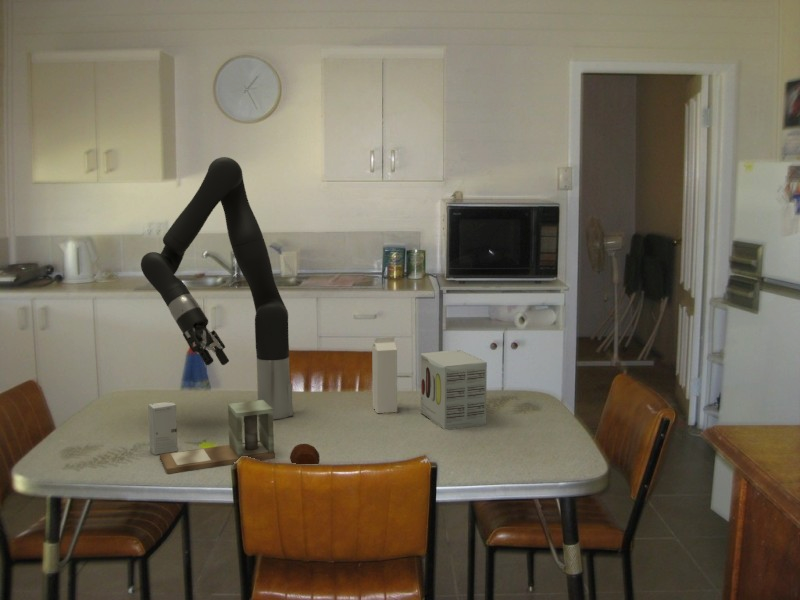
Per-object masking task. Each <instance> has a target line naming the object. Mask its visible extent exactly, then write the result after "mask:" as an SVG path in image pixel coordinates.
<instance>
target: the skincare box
mask: <svg viewBox="0 0 800 600" xmlns="http://www.w3.org/2000/svg"><path fill="white" fill-rule="evenodd" d="M177 419H178V418H177V404H175V403H174V402H172V401H164V402H157V403H149V404H148V433H149V435H148V436H149V451H150V452H151V453H152V454H153V455H154V456H157V455H160V454H167V453H174V452H178V425H177V423H178V422H177Z"/></svg>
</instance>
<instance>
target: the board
mask: <svg viewBox="0 0 800 600" xmlns="http://www.w3.org/2000/svg"><path fill="white" fill-rule="evenodd" d="M258 415H259V416H258ZM227 416H228V417H227V418H228V421H227V422H228V444H224V445H219V446H218V445H217V446H210V447H204V448H198V449H197V448H196V449H191V450H189V449H188V450H183V451H182V450H181V451H174V452H168V453H162V454H159V461H160V460H161V461H160V462H162V463H161V464H163V465H162V467H163V466H164V467H163V468H164V470H165V472H166V474H167V475H169V474H175V473H182V472H188V471H189V470H190V471H195V470H194V469H196V470H202V469H201V468H203V469H209V468H215V467H223V466H228V465H229V464H230V465H233V464H232V463H234V462H236V461H237V460H238V459H239V458H240V457H241V456H248V457H251V458H255V459H260V460H259V461H264V460H268V459H275V458H276V453H275V440H274V439H275V438H274V435H275V434H274V432H275V431H274V419H273V408H271V407H270V406H269V405H268V404H267V403H266V402H265V401H264V400H258V399H257V400H250V401H240V402H234V403H233V402H232V403H227ZM242 420H243V422H242ZM243 427H244V428H243ZM243 429H244V431H243ZM258 431H259V432H258ZM243 432H244V442H243ZM258 434H259V435H258ZM222 465H223V466H222Z"/></svg>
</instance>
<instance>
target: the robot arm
mask: <svg viewBox="0 0 800 600" xmlns="http://www.w3.org/2000/svg"><path fill="white" fill-rule="evenodd" d="M243 176H244V175H243V170H242V167H241V165H240V164H239V162H237V161H236V160H235V159H234V158H231V157H227V156H220V157H218V158H216V159H214V160H213V161H211V163H210V164H209V166H208V169H207V172H206V174H205V176H204V178H203V180H202V182H201V185H200V186H199V188H198V190H197V191H196V193H194V195H193V197H192V199H191V200H189V203H188V204H187V205H186V206H185V208H184V209H183V210H182V211H181V212H180V214H179V215H178V217H177V218H176V219H175V221H174V222H173V223H172V225H171V226H170V227H169V228H168V230H167V231H166V232H165V234H164V236H163V238H162V242H163V244H164V246H163V248H162V251H161V252H155V251H153V252H152V251H151V252H148V253H146V254H144V255H143V257H142V258H141V260H140V261H141V262H140V269H141V272H142V273H143V275H144V277H145V278H146V280H147V281H148V282H149V283H150V285H151V286H152V287H153V288H154V289H155V290H156V291H157V292H158V293H159V294H160V296H161V299H162V300H163V301H164V303H165V305H166V306H167V308H168V310H169V312H170V314H171V316H172V318H173V320H174V322H175V323H176V324H177V326H178V327H179V329H180V331H181V332H182V336H183V338H184V340H185V341H186V343H187V344H188V346H189V348H190V350H191V351H192V353H196V354H197V355H199V357H201V359H202V361H203V363H204V364H205V365H206V366H210V365H211V364H213V362H214V358H213V356H212V355H211V354H210V352H209V351H212V352H213V353H214V354H215V357H216V358H217V360H218V361H219V363H220V364H221V366H225V365H226V364H228V363H229V362H230V360H229V358H228V356H227V355H226V353H225V352H224V349H225V348H226V345H225V344H224V341H222V339H221V337H220V336H219V335H218V333H217V332H216V330H212V331H210V330H209V329H208V328H207V326H208V325H209V319H208V318H207V316H206V315H205V313H204V311H203V309H202V308H201V306H200V305H199V303H198V302H197V300H196V299H195V297H194V296H193V295H192V294H191V292H190V291H189V288H187V286H186V283H184V282H183V280H181V278H179V277H177V276H176V275H175V274H176V273H177V271H178V269H179V268H180V265H181V262H182V260H183V258H184V255H185V252H186V251H187V250H188V248H189V247H190V245H191V244H192V243H193V241H195V239H196V237H197V236H198V235H199V233H200V232H201V230H202V228H203V227H204V226H205V224H206V222H207V220H208V218H209V216H210V215H211V214H212V212H213V211H214V209H216V207H217V205H218V204H219V203H221V205H222V206H221V207H222V208H223V209H222V210H223V212H224V216H225V217H224V218H225V223H226V229H227V234H228V235H227V236H228V240H229V243H230V246H231V250H232V253H233V255H234V258H235V261H236V263H237V266H238V268H239V270H240V273H242V276H243V278H244V279H245V281H246V283H247V285H248V287H249V289H250V293H251V297H252V301H253V305H254V310H255V317H254V333H255V334H254V335H255V336H254V337H255V338H254V339H255V351H256V353H255V354H256V378H257V379H256V380H257V383H256V384H257V385H256V387H257V400H264V401H265V402H266V403H267V404H268V405H269V406H270V407H271V408H273V420H282V419H285V418H288V417H291V416H293V384H292V383H291V382H290V343H289V342H290V341H289V312H288V310H287V307H286V305H285V302H284V301H283V299H282V296H281V294H280V291H279V289H278V287H277V284H276V281H275V278H274V274H273V267H272V264H271V259H270V255H269V252H268V247H267V244H266V241H265V238H264V235H263V233H262V230H261V228H260V225H259V223H258V221H257V218H256V216H255V214H254V212H253V209H252V207H251V205H250V202H249V200H248V199H249V198H248V195H247V192H246V188H245V183H244V177H243ZM257 417H259V415H257Z"/></svg>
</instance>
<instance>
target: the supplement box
mask: <svg viewBox="0 0 800 600" xmlns="http://www.w3.org/2000/svg"><path fill="white" fill-rule="evenodd" d="M487 363H488V362H487V361H486V360H483V359H482V358H478V357H476V356H475V355H472V354H470V353H468V352H466V351H464V350H461V349H457V350H456V349H455V350H443V351H432V352H423V353H420V414H422V415H423V416H425V417H426V416H427V417H426V418H428V419H430V421H432V422H433V423H435V424H436V425H437V426H439V427H440V428H441V427H442V428H441V429H443V430H444V429H448V430H454V429H453V428H456V429H462V428H461V427H464V428H470V426H472V427H478V426H477V425H479V426H485V424H486V425H487V375H488V374H487V373H488V371H487V369H488V364H487Z"/></svg>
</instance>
